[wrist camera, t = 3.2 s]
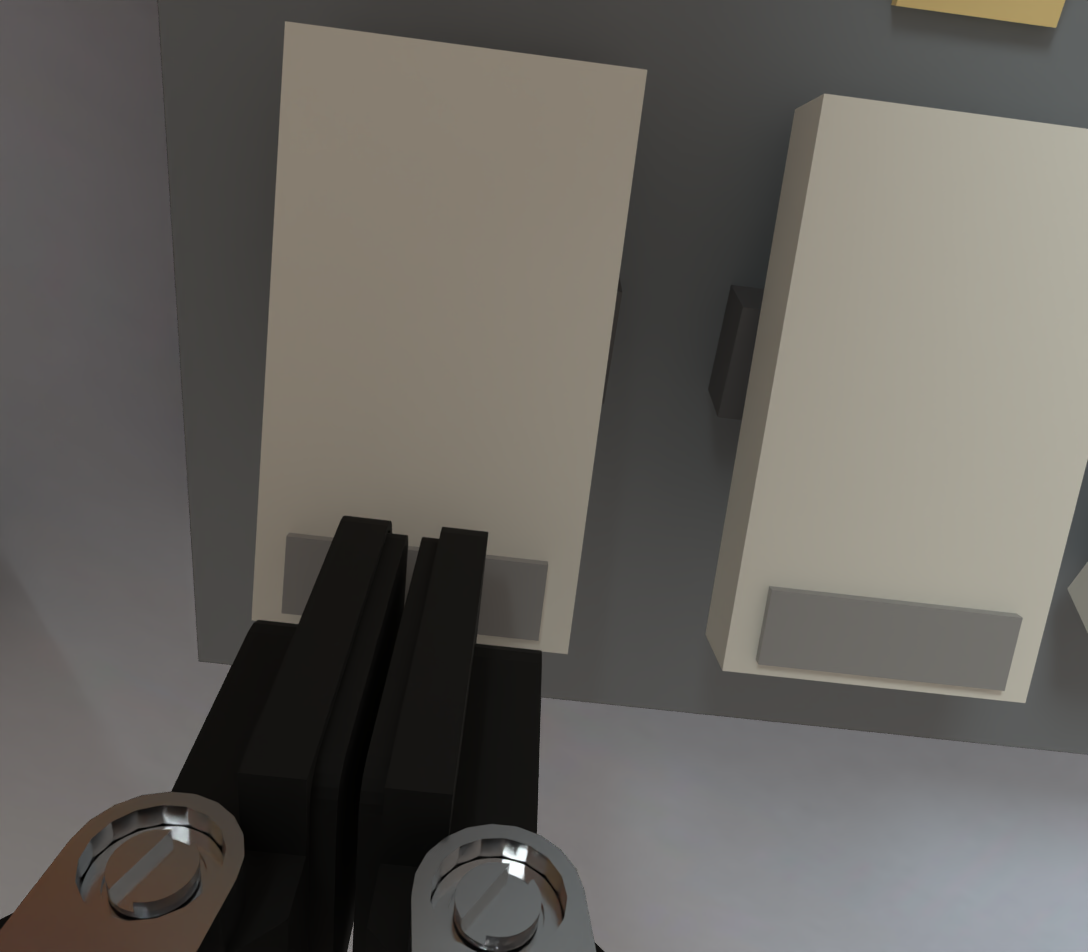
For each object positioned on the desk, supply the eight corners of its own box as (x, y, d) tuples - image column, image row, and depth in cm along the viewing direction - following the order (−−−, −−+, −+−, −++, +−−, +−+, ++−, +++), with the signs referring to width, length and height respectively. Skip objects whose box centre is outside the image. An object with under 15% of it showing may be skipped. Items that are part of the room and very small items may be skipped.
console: (244, -282, 14) (94, -401, 9) (1562, -88, 15) (1997, -113, 10) (262, 540, 20) (178, 699, 16) (1169, 641, 21) (1330, 818, 17)
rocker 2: (794, 109, 12) (828, 90, 10) (1106, 151, 12) (1178, 137, 11) (705, 634, 13) (724, 675, 12) (982, 664, 14) (1031, 708, 12)
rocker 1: (309, 44, 12) (280, 18, 10) (635, 87, 12) (649, 67, 10) (276, 588, 13) (247, 625, 12) (564, 619, 13) (567, 658, 12)
